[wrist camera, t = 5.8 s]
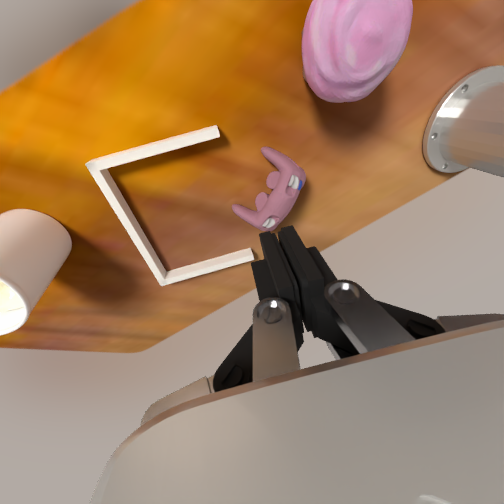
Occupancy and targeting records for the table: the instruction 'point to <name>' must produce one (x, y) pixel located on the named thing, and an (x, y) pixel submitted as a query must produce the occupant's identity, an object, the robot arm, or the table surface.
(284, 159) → the video game controller
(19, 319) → the candle holder
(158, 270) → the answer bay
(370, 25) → the cupcake
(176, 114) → the table surface
